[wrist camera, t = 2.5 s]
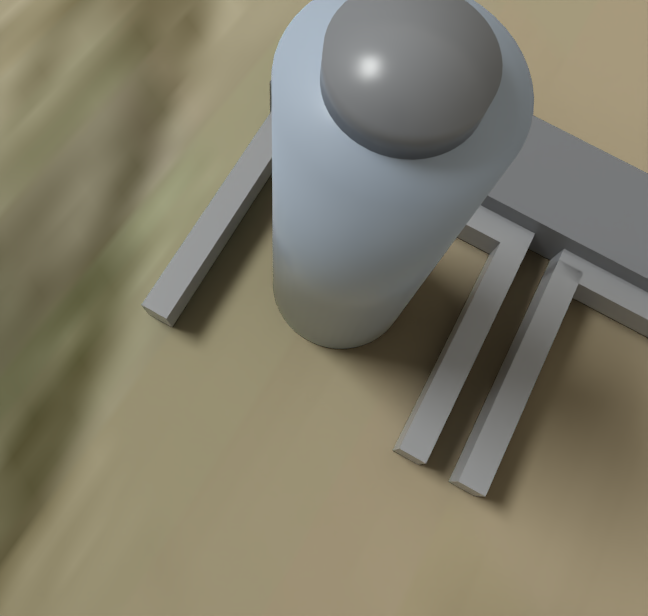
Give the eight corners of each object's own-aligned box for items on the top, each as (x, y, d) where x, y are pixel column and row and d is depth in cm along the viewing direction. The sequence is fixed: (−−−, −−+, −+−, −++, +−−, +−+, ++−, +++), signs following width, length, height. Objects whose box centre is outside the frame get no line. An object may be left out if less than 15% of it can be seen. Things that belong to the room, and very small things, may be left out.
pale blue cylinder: (309, 371, 22) (352, 229, 10) (251, 253, 23) (224, -9, 11) (428, 314, 23) (605, 119, 11) (367, 203, 24) (463, -90, 12)
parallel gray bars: (138, 308, 22) (124, 290, 20) (317, 43, 26) (321, 3, 24) (750, 650, 21) (805, 669, 18) (846, 313, 24) (900, 297, 22)
